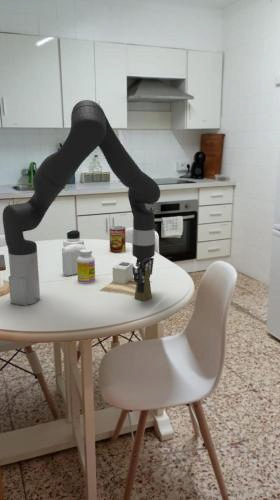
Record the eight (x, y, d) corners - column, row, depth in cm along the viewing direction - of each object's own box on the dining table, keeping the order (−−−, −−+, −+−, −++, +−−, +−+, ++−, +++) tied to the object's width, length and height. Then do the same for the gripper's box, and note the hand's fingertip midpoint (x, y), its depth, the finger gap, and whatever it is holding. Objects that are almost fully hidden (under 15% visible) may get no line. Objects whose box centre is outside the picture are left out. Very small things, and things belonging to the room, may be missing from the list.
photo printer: (84, 270, 174) (83, 241, 170) (88, 272, 170) (87, 243, 167) (61, 274, 168) (59, 245, 165) (65, 277, 165) (64, 247, 161)
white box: (124, 284, 154) (124, 268, 153) (112, 282, 156) (112, 266, 155) (133, 278, 161) (133, 262, 160) (121, 276, 163) (121, 261, 162)
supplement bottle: (90, 286, 154) (89, 253, 151) (74, 284, 156) (73, 251, 153) (98, 280, 160) (97, 249, 157) (83, 278, 162) (81, 247, 159)
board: (134, 297, 143) (134, 295, 143) (99, 292, 148) (99, 290, 148) (152, 282, 158) (152, 281, 158) (119, 278, 163) (119, 276, 163)
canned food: (107, 252, 201) (106, 228, 198) (113, 248, 208) (112, 225, 205) (122, 253, 199) (122, 229, 196) (127, 249, 206) (127, 226, 203)
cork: (146, 302, 137) (146, 271, 134) (131, 298, 140) (131, 268, 137) (155, 296, 142) (155, 266, 139) (140, 293, 145) (140, 263, 142)
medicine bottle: (84, 254, 197) (83, 230, 194) (74, 258, 191) (73, 233, 188) (73, 252, 201) (72, 228, 198) (63, 255, 195) (62, 231, 192)
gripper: (146, 248, 128) (145, 299, 133) (161, 238, 141) (160, 285, 145) (124, 245, 131) (124, 295, 135) (141, 236, 144) (140, 282, 148)
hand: (143, 290), depth 140 cm, fingers closed on cork, 4 cm apart
